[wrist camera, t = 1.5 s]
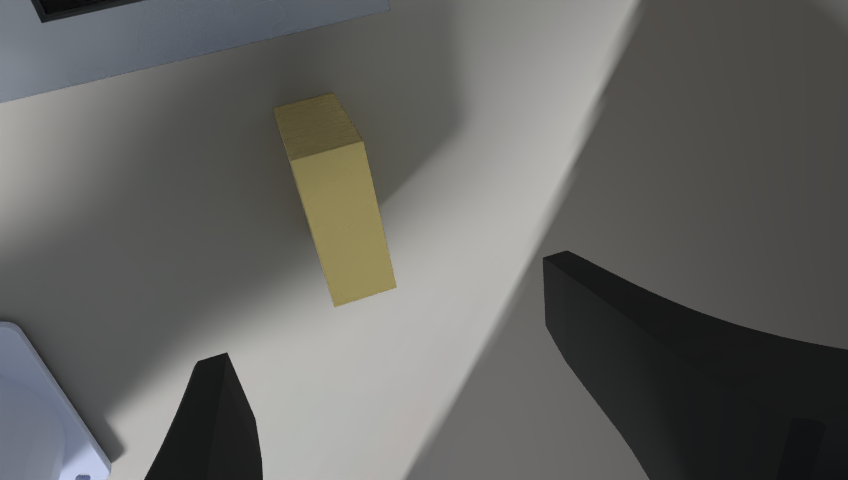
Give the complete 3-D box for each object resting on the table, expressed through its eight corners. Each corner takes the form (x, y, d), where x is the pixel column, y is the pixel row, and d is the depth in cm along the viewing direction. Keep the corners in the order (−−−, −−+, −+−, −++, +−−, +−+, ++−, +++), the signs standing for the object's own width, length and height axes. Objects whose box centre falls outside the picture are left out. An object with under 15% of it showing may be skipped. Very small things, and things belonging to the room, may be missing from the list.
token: (311, 236, 23) (334, 307, 19) (272, 107, 20) (290, 161, 17) (364, 220, 23) (396, 287, 20) (332, 92, 21) (363, 140, 17)
